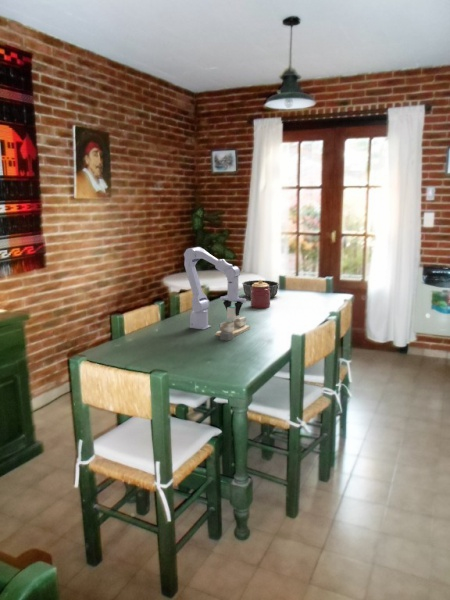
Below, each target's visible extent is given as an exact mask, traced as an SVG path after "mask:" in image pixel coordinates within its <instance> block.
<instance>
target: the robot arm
mask: <svg viewBox="0 0 450 600" xmlns="http://www.w3.org/2000/svg"><path fill="white" fill-rule="evenodd" d="M183 257H184V263H183V264H184V268H185V272H186V275H187V278H188V282H189V287H190V289H191V292H192V298H191V309H192V311H191V312H190V314H189V325H190V326H189V328H191V329H197V330H206V329H209V328H210V327H212V325H209V314H208V313H209V308H210V306H211V303H210V300H209V299H208V297H207V295H206V294H205V293H204V292H203V289H202V285H201V282H200V278H199V276H198V275H199V274H198V272H197V269H196V264H197V263H198V261H200V259H201V260H202V259H203V260H204V261H207V262H208V263H210V264H212V265H214V266H215V269H216V270H218V271H219V272H221V273H223V274H225V277H226V278H227V279H226V281H227V296H220V298H219V299H220V300H219V301H221V302H222V301H223V305H224V308H225V310H226V311H227V307H230V306H232V303H233V302H234V306H235V308H236V316H238V315H239V316H240V311H241V309H242V307H243V304H246V303H247V298H243V297H239V295H240V294H239V276H240V275H241V269H240V268H239V266H237V265H234V266H233V264H232V263H229V262H227V261H226V260H225V259H224V258H222V259H221V258H220V259H218V258H217V257H215V256H213V255H212V254H210V253H209V252H208V251H207V250H205V249H204V248H202V247H201V246H196V247H190V248H189V247H188V248H186V249H185V251H184V252H183Z"/></svg>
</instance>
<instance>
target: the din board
mask: <svg viewBox="0 0 450 600" xmlns="http://www.w3.org/2000/svg"><path fill="white" fill-rule="evenodd" d="M246 317H247V316H240V315H239V318H237V319H235V320H233V319H231V321H223V322H222V323H219V329H220V330H218V331H216V332H215V336H218V337H220V333H221V332H224V331H225V332H232V334H233V338H235V337H237V336H239V335H240V334H242V333H244V332H246V331H248V330H250V329H251V326H250V325H246V324H247V318H246Z"/></svg>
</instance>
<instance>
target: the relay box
mask: <svg viewBox="0 0 450 600" xmlns="http://www.w3.org/2000/svg"><path fill="white" fill-rule="evenodd" d="M233 338H234V337H233V334H232V332H225V331H224V332H221V333H220V336H219V340H221V341H226V342H229V341H231V340H233Z"/></svg>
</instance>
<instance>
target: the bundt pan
mask: <svg viewBox="0 0 450 600" xmlns="http://www.w3.org/2000/svg"><path fill="white" fill-rule="evenodd" d="M259 280H260V279H258V280H257V279H256V280H248V281H247V280H246V281H243V282H242V288H243V292H244V293H243V294H244V295H245V296H246V297H249V298H250V299H251V288H252V285H253V284H254V283H257V282H258V281H259ZM261 280H262V279H261ZM262 282H263V283H267V284H268V285H269V286H268V287H269V288H270V299H271V298H273V297H275V296H276V295H277V294H278V291H279V285H280V283H279V282H278V281H277V282H276V281H273V280H264V279H263V280H262Z"/></svg>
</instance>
